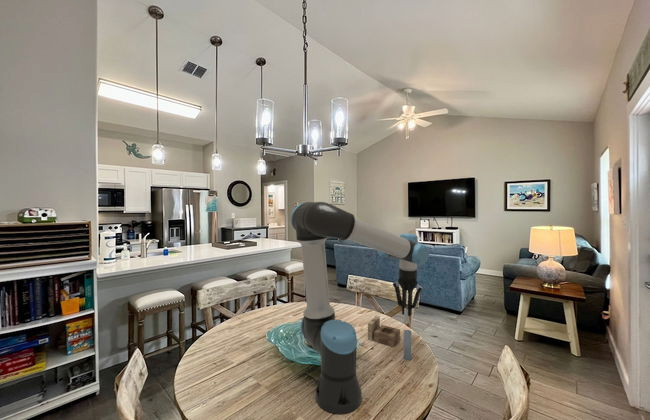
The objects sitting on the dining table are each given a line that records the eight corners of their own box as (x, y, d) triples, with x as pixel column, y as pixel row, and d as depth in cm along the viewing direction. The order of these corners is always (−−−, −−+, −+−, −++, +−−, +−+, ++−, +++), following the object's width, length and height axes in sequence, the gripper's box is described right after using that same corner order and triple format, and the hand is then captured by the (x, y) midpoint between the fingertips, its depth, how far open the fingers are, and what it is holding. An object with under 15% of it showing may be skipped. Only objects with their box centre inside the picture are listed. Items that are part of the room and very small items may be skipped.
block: (393, 347, 121) (393, 337, 121) (374, 341, 126) (374, 331, 126) (400, 339, 128) (400, 329, 128) (381, 333, 134) (381, 324, 133)
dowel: (409, 363, 110) (410, 333, 110) (402, 361, 112) (402, 331, 112) (412, 360, 113) (412, 331, 113) (404, 357, 115) (405, 329, 114)
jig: (401, 352, 119) (401, 332, 119) (367, 341, 128) (367, 323, 128) (408, 343, 126) (408, 324, 126) (375, 334, 135) (375, 316, 135)
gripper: (425, 269, 121) (423, 323, 121) (396, 265, 128) (395, 316, 128) (420, 272, 115) (419, 329, 115) (390, 268, 122) (389, 321, 122)
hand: (406, 322), depth 122 cm, fingers closed
